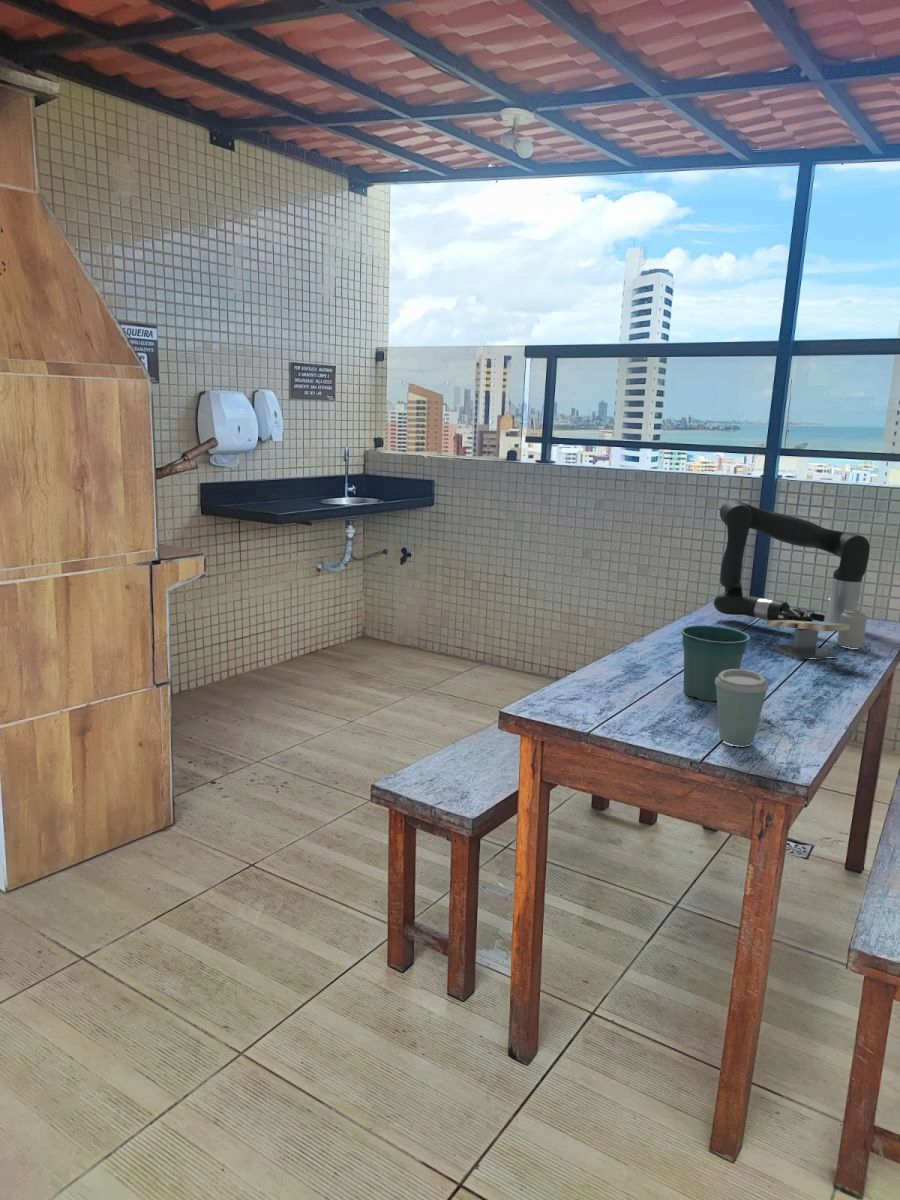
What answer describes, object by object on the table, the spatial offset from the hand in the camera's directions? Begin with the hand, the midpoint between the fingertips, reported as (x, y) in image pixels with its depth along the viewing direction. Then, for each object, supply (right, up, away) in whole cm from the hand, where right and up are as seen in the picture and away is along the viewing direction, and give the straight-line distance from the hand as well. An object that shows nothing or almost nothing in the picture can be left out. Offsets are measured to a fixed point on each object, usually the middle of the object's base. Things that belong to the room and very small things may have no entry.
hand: (818, 620), depth 274 cm
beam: (-12, -1, -20) cm, 23 cm away
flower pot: (-56, -18, -63) cm, 86 cm away
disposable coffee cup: (-60, -24, -96) cm, 115 cm away
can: (+7, -9, -7) cm, 13 cm away
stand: (-12, -10, -18) cm, 24 cm away
